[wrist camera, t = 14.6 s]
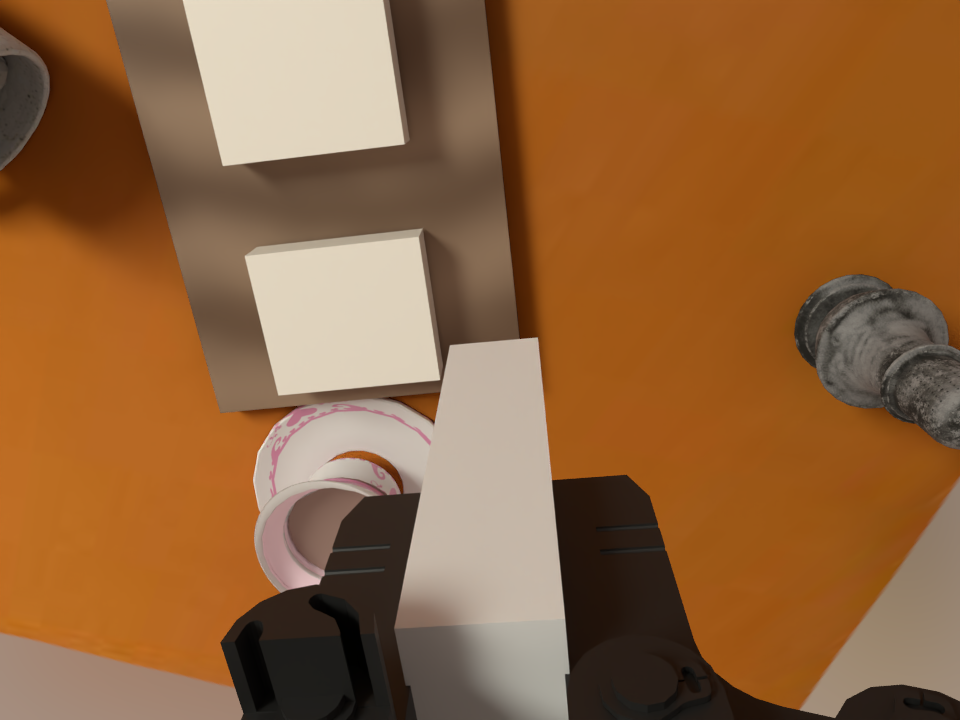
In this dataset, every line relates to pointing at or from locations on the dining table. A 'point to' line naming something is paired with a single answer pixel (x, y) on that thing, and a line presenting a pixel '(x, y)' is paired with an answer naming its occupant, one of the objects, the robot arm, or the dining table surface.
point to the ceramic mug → (20, 95)
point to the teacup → (329, 478)
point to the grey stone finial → (883, 352)
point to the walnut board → (330, 190)
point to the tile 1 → (298, 76)
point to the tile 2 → (347, 312)
